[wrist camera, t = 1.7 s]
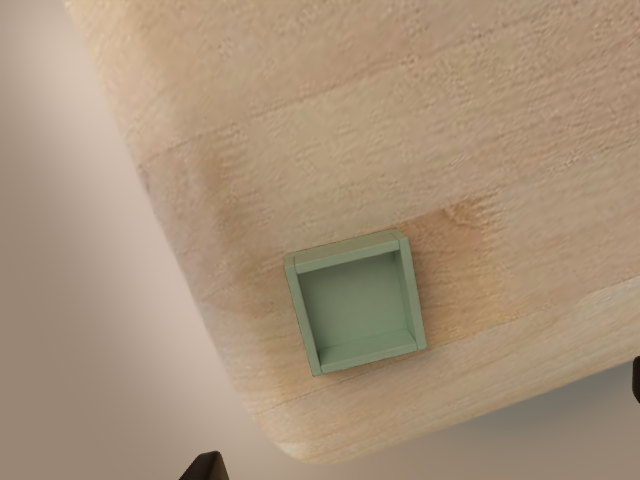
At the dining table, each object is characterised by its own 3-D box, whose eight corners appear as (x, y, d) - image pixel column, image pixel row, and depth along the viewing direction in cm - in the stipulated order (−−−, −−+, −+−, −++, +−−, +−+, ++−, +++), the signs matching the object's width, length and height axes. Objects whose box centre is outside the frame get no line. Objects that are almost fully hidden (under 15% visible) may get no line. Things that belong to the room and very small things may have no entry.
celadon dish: (310, 354, 22) (312, 377, 19) (284, 254, 20) (283, 267, 18) (414, 328, 22) (427, 348, 20) (396, 227, 20) (408, 237, 18)
